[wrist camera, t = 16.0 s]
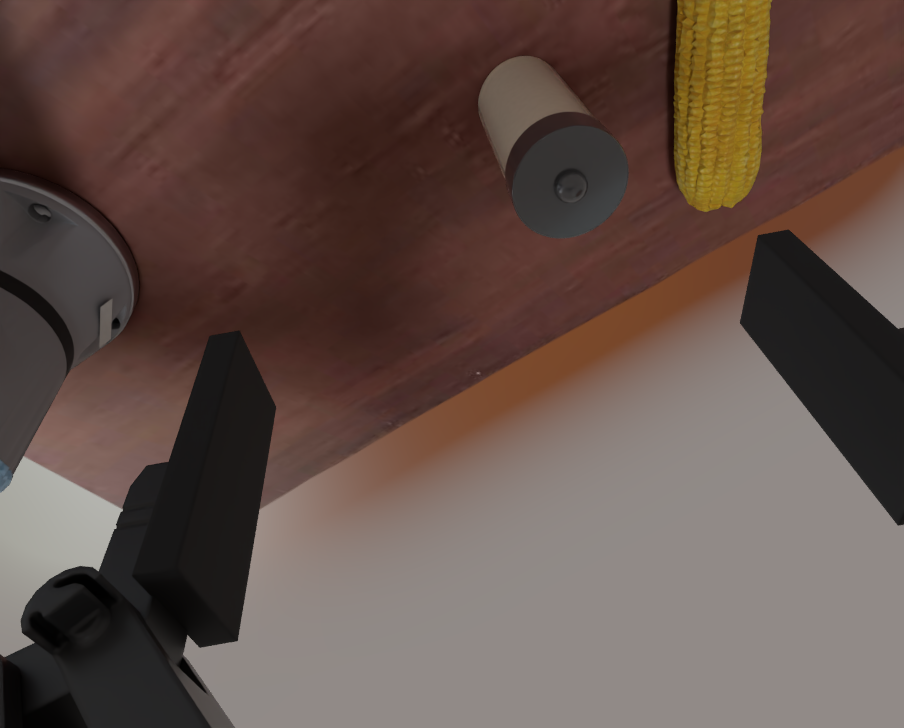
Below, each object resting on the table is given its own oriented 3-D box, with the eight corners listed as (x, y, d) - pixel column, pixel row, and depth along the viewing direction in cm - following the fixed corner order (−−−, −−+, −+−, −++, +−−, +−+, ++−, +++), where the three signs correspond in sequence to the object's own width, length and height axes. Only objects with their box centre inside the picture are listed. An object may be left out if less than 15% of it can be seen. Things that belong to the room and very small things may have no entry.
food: (734, 173, 47) (772, 207, 43) (662, 193, 48) (693, 229, 43) (756, -179, 34) (816, -183, 29) (656, -147, 34) (699, -146, 30)
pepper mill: (481, 154, 44) (519, 256, 33) (471, 63, 40) (510, 145, 29) (565, 138, 44) (632, 235, 33) (563, 45, 40) (638, 121, 29)
